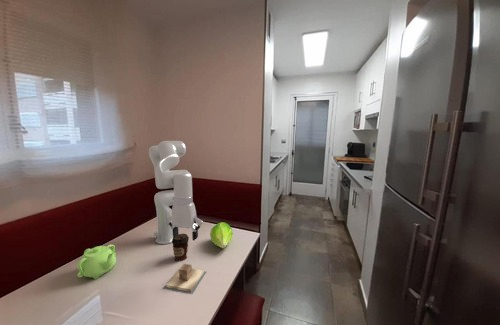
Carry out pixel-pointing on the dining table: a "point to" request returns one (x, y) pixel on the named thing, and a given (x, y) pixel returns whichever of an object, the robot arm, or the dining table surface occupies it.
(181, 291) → the mat
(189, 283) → the lid
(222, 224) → the lettuce
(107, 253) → the teapot
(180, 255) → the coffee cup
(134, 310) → the dining table surface
